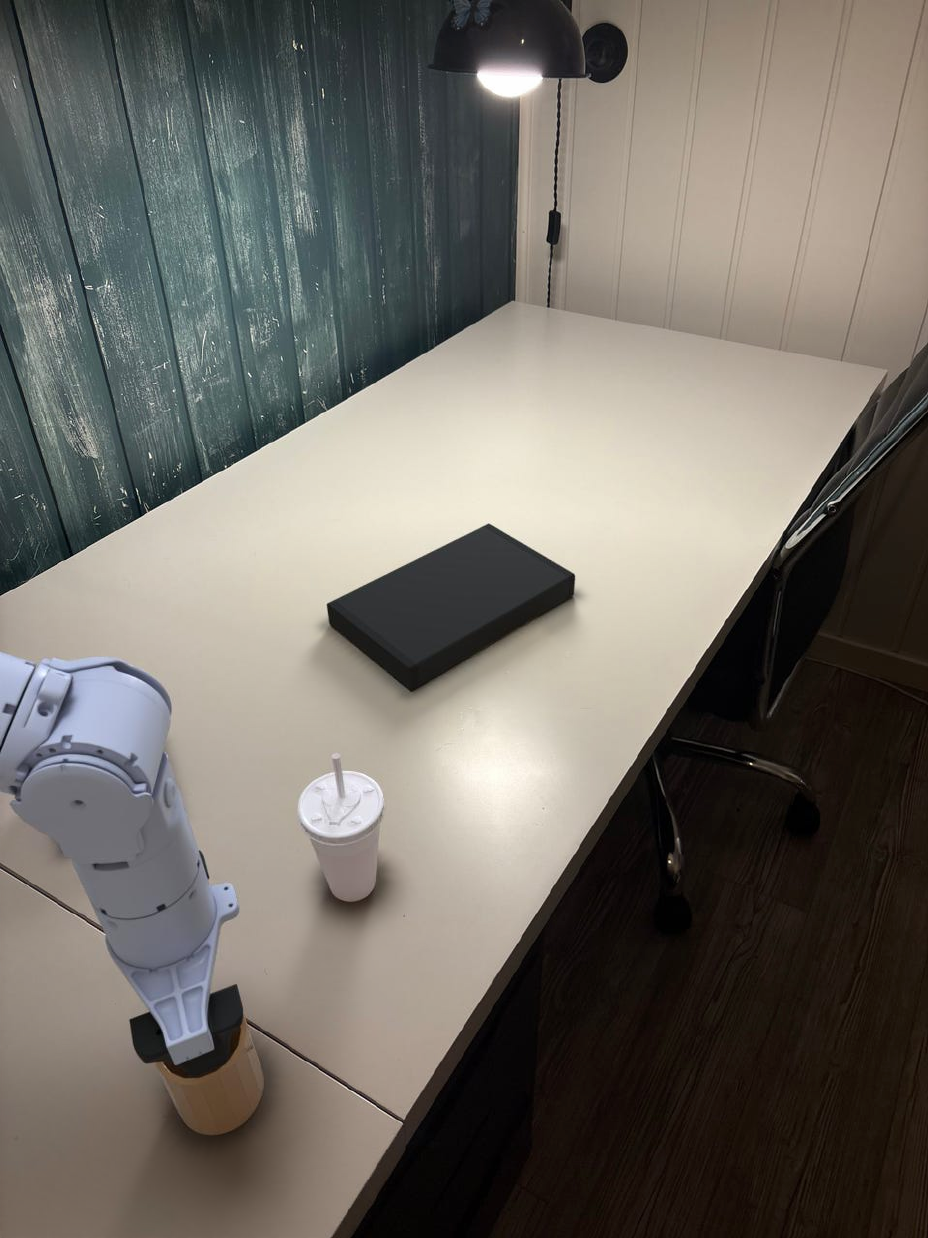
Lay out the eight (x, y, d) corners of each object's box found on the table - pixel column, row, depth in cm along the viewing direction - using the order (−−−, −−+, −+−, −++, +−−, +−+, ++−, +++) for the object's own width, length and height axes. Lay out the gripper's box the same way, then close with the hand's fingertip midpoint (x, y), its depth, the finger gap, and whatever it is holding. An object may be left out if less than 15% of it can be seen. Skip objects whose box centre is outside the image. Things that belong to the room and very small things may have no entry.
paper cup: (185, 1150, 58) (161, 1100, 53) (171, 1068, 62) (146, 1015, 57) (273, 1113, 59) (255, 1061, 55) (253, 1036, 63) (235, 982, 59)
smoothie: (398, 851, 75) (386, 732, 67) (385, 920, 70) (371, 800, 62) (322, 846, 76) (300, 726, 67) (303, 913, 71) (278, 794, 62)
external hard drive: (329, 624, 99) (326, 602, 97) (488, 543, 110) (488, 522, 109) (411, 691, 90) (410, 669, 88) (574, 596, 102) (575, 574, 100)
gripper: (253, 959, 43) (292, 1091, 52) (195, 753, 54) (235, 890, 62) (98, 1018, 41) (165, 1145, 50) (69, 791, 52) (129, 928, 60)
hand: (196, 1007), depth 56 cm, fingers open, 7 cm apart
